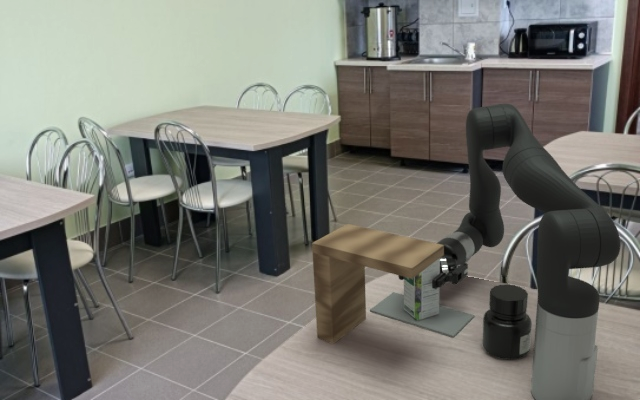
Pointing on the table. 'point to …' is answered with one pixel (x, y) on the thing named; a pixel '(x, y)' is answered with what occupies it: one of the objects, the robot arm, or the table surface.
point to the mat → (442, 323)
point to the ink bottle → (507, 323)
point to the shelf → (359, 272)
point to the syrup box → (422, 293)
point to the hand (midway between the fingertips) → (416, 280)
